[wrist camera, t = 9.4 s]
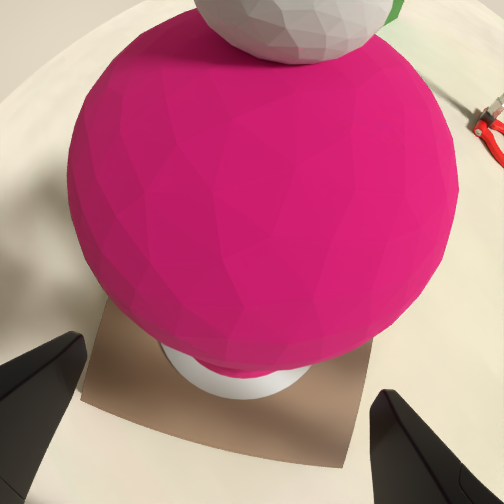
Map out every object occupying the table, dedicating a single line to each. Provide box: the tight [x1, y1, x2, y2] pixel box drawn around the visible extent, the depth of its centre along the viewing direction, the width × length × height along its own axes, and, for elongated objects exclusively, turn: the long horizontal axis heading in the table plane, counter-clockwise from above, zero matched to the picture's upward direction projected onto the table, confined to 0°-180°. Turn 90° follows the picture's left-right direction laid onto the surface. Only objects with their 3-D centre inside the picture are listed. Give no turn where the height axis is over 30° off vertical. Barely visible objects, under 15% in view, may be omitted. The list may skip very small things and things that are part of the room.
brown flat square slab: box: [80, 297, 373, 468], centre depth 21 cm, size 18×18×2 cm
